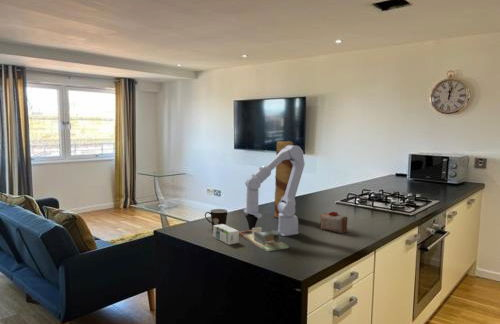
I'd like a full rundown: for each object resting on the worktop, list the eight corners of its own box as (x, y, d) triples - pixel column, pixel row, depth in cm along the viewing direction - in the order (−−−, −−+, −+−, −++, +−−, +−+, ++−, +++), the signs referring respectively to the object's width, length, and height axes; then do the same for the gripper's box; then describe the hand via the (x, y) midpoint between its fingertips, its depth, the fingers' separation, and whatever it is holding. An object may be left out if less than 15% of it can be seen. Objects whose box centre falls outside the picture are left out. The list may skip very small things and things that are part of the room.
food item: (317, 229, 188) (318, 210, 187) (325, 226, 194) (326, 208, 193) (341, 234, 179) (342, 215, 179) (348, 231, 185) (349, 212, 185)
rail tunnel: (257, 231, 181) (257, 220, 181) (288, 247, 158) (289, 235, 157) (237, 234, 176) (237, 223, 176) (267, 251, 152) (267, 238, 152)
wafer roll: (286, 214, 220) (289, 140, 216) (294, 218, 210) (296, 141, 206) (271, 215, 217) (272, 140, 213) (277, 219, 207) (279, 141, 203)
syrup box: (228, 245, 160) (212, 236, 171) (239, 242, 163) (222, 234, 175) (228, 232, 159) (212, 225, 171) (239, 230, 162) (223, 223, 174)
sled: (260, 234, 172) (260, 226, 172) (274, 241, 162) (274, 233, 162) (251, 236, 170) (251, 227, 170) (264, 243, 160) (265, 234, 159)
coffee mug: (230, 230, 183) (231, 211, 182) (217, 233, 177) (217, 213, 176) (216, 225, 191) (216, 207, 190) (203, 228, 185) (203, 209, 184)
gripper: (238, 199, 178) (237, 226, 179) (252, 205, 165) (252, 234, 166) (250, 198, 181) (250, 225, 183) (265, 204, 169) (265, 232, 170)
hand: (251, 229), depth 175 cm, fingers closed
